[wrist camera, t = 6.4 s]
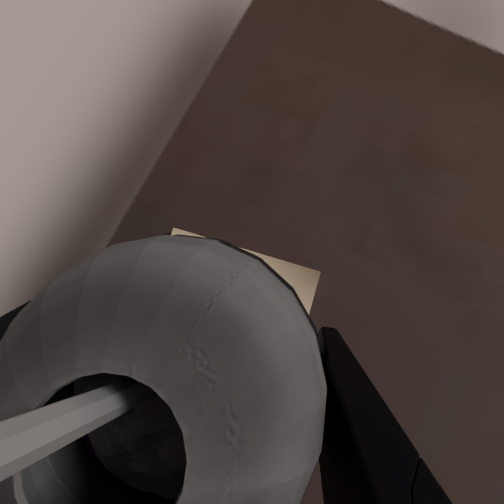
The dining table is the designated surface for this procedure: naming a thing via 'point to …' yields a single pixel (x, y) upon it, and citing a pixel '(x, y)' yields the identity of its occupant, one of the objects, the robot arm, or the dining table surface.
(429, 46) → the dining table surface
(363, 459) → the robot arm
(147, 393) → the beverage cup
